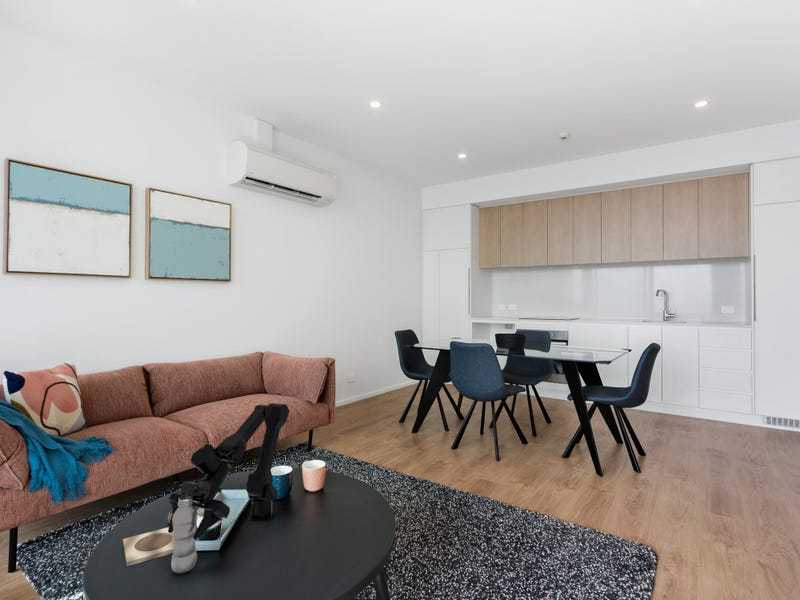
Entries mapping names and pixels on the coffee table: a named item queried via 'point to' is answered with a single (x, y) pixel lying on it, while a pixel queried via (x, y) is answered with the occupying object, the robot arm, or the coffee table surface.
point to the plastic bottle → (184, 535)
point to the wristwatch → (170, 516)
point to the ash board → (148, 546)
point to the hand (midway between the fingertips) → (181, 535)
